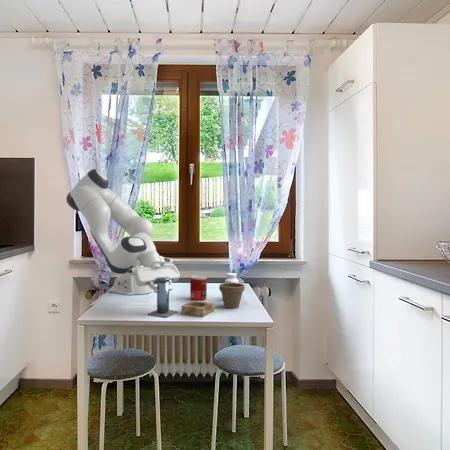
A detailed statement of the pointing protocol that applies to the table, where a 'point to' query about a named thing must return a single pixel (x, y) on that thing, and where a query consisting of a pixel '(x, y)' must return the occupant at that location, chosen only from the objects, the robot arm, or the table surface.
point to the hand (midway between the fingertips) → (163, 291)
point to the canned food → (198, 287)
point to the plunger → (163, 294)
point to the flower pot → (231, 294)
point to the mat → (163, 313)
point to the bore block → (197, 308)
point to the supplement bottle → (231, 278)
